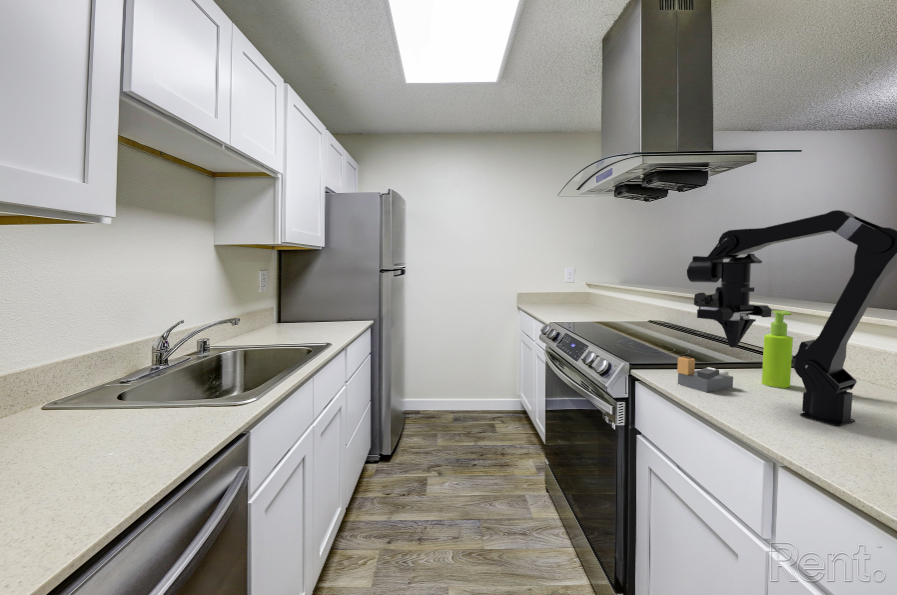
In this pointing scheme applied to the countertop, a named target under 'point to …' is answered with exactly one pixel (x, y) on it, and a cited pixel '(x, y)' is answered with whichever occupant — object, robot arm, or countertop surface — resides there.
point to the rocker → (708, 373)
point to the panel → (706, 381)
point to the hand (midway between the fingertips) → (733, 347)
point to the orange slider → (686, 365)
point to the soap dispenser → (777, 353)
